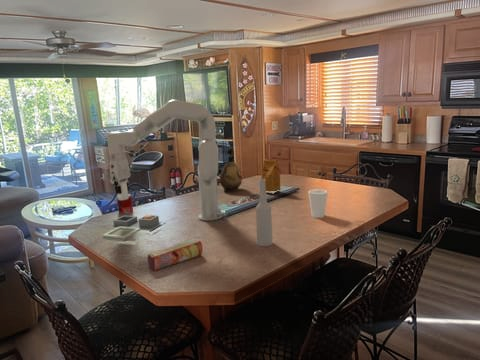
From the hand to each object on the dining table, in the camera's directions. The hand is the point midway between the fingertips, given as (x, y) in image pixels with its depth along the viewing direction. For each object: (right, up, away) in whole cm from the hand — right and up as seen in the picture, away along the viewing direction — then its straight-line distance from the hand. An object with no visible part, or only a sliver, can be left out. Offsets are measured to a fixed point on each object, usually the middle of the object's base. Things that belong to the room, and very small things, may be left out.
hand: (122, 191), depth 183 cm
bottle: (+70, -21, -29) cm, 79 cm away
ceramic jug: (+54, -1, +69) cm, 88 cm away
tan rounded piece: (+14, -16, -2) cm, 21 cm away
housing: (+7, -18, +1) cm, 19 cm away
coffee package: (+80, -2, +57) cm, 99 cm away
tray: (+4, -21, -11) cm, 24 cm away
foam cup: (+100, -13, +3) cm, 101 cm away
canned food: (-6, -14, +25) cm, 29 cm away
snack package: (+35, -26, -42) cm, 61 cm away
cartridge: (0, -4, +1) cm, 4 cm away
